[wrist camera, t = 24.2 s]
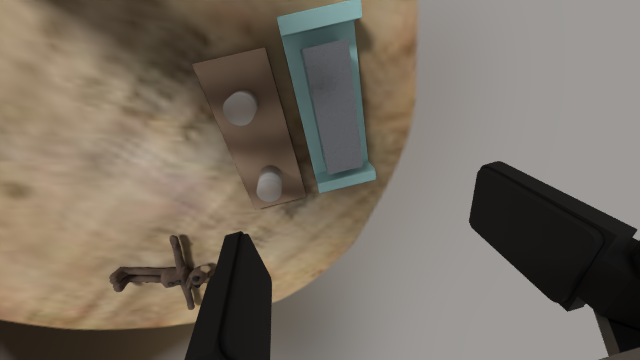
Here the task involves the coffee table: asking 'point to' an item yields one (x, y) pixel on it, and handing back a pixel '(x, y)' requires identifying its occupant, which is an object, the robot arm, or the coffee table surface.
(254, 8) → the coffee table surface
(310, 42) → the slot holder
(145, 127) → the coffee table surface
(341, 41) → the steel bar
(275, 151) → the peg stand
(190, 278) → the bear figurine
